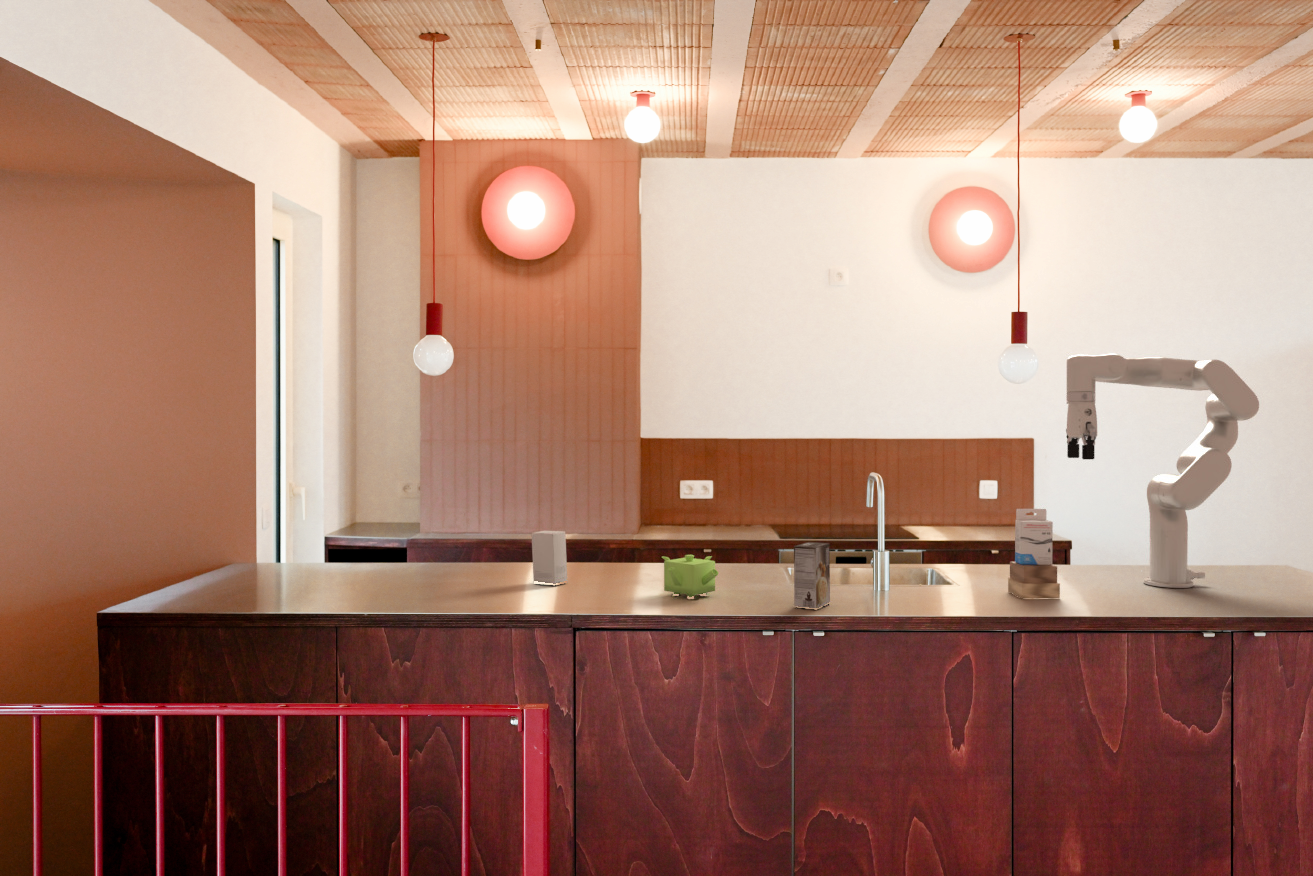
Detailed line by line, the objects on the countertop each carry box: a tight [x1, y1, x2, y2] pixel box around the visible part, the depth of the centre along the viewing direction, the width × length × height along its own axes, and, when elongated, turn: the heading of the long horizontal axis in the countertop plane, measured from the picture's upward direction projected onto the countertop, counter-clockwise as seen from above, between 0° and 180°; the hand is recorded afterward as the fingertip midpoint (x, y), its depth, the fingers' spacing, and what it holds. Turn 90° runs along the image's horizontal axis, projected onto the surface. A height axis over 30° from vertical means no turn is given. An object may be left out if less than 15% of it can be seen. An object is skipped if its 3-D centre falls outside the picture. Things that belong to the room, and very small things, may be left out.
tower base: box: [1007, 577, 1061, 599], centre depth 255 cm, size 10×10×4 cm
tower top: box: [1009, 561, 1058, 584], centre depth 255 cm, size 9×9×4 cm
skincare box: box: [531, 530, 568, 584], centre depth 277 cm, size 8×7×16 cm
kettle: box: [661, 554, 719, 597], centre depth 258 cm, size 15×14×11 cm
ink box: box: [1014, 508, 1054, 565], centre depth 255 cm, size 9×5×15 cm, turn 86°
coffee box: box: [793, 541, 831, 608], centre depth 242 cm, size 9×6×16 cm
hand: (1080, 458), depth 269 cm, fingers open, 9 cm apart
